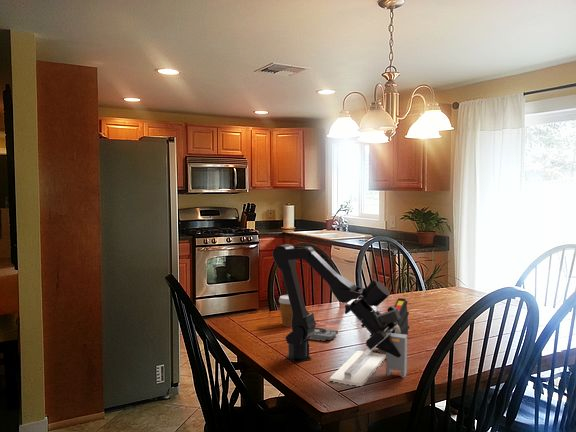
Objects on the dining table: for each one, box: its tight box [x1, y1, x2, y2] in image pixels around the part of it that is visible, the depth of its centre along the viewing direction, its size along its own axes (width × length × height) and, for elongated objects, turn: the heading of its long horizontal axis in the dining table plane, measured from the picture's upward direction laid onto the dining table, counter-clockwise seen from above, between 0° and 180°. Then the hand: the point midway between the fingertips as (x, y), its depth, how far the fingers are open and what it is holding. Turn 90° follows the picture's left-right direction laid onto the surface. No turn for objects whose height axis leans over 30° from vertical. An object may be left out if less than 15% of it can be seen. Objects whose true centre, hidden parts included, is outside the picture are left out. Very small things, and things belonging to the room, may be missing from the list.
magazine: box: [393, 297, 410, 336], centre depth 192 cm, size 4×13×15 cm, turn 149°
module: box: [385, 333, 408, 379], centre depth 154 cm, size 6×4×12 cm, turn 64°
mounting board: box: [329, 350, 386, 387], centre depth 160 cm, size 10×28×1 cm, turn 154°
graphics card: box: [290, 326, 339, 342], centre depth 193 cm, size 17×4×12 cm
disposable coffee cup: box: [278, 294, 293, 328], centre depth 210 cm, size 10×10×12 cm
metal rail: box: [344, 348, 374, 379], centre depth 160 cm, size 2×24×2 cm, turn 154°
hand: (401, 354), depth 154 cm, fingers closed on module, 4 cm apart
